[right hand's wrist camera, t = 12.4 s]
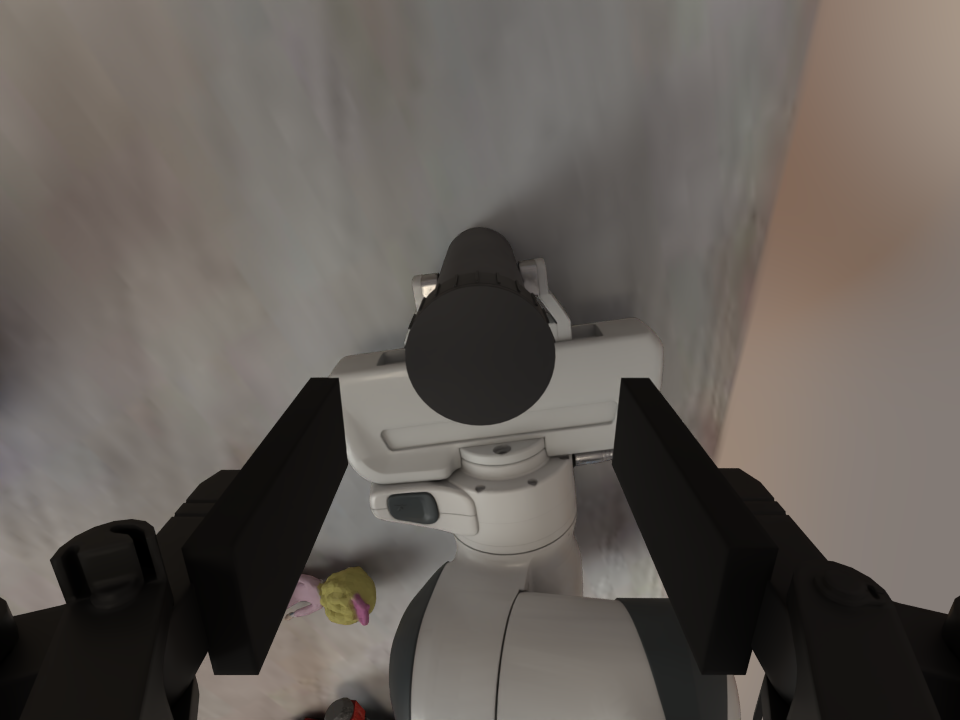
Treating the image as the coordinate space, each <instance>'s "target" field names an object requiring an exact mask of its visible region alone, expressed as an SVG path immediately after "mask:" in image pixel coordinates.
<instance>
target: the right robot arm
mask: <svg viewBox="0 0 960 720" xmlns="http://www.w3.org/2000/svg"><path fill="white" fill-rule="evenodd" d="M347 466H348V458H347V448H346V439H345V430H344V420H343V411H342V402H341V393H340V383H339V378H310V379H309V381H308V382H307V383H306V385H305V386H304V387H303V389H302V390H301V391H300V393H299V394H298V395H297V397H296V398H295V399H294V400H293V402H292V403H291V404H290V406H289V407H288V408H287V410H286V411H285V412H284V414H283V415H282V416H281V418H280V419H279V420H278V422H277V423H276V424H275V425H274V427H273V428H272V429H271V431H270V432H269V433H268V435H267V436H266V437H265V439H264V440H263V441H262V443H261V444H260V445H259V446H258V448H257V449H256V450H255V452H254V453H253V454H252V456H251V457H250V458H249V460H248V461H247V462H246V464H245V465H244V466H243V467H242V469H241V470H220V471H219V472H217V473H216V474H214V475H213V476H211V477H210V478H208V479H207V480H205V481H204V482H202V483H201V484H199V486H198V487H197V488H196V489H195V490H194V491H193V493H192V494H191V495H190V496H189V497H188V499H187V500H186V503H183V504H182V506H181V507H180V508H179V509H178V510H177V511H176V513H175V516H174V517H171V518H170V520H169V521H168V522H167V523H166V524H165V526H164V527H163V528H162V529H161V530H160V531H159V533H158V534H157V535H156V534H155V530H154V527H153V526H151V525H150V524H149V523H147V522H146V521H141V520H134V519H128V520H120V521H113V522H109V523H106V524H103V525H100V526H96V527H93V528H91V529H89V530H87V531H85V532H83V533H81V534H79V535H77V536H75V537H74V538H72V539H71V540H70V541H68V542H67V543H66V544H64V545H63V546H62V547H60V548H59V549H58V551H57V552H56V553H55V554H54V556H53V557H52V558H51V559H50V562H51V564H52V567H53V570H54V572H55V575H56V577H57V580H58V583H59V585H60V588H61V591H62V593H63V596H64V598H65V601H66V604H64V605H61V606H56V607H52V608H47V609H43V610H39V611H34V612H30V613H26V614H21V615H17V616H12V614H11V611H10V609H9V607H8V604H7V602H6V601H5V600H4V599H2V598H0V720H197V714H198V704H199V689H198V683H197V680H196V676H195V674H196V672H197V670H198V669H199V667H200V665H201V663H202V661H203V659H204V658H205V656H206V654H207V652H208V653H209V657H210V660H211V664H212V668H213V672H214V675H259V672H260V670H261V668H262V665H263V663H264V661H265V658H266V656H267V654H268V651H269V649H270V646H271V644H272V642H273V639H274V637H275V635H276V632H277V630H278V628H279V625H280V623H281V621H282V618H283V616H284V614H285V611H286V609H287V607H288V604H289V602H290V600H291V597H292V595H293V593H294V590H295V588H296V586H297V583H298V581H299V579H300V576H301V574H302V571H303V569H304V567H305V564H306V562H307V560H308V557H309V555H310V553H311V550H312V548H313V546H314V543H315V541H316V539H317V536H318V534H319V532H320V529H321V527H322V525H323V522H324V520H325V518H326V515H327V513H328V511H329V508H330V506H331V504H332V501H333V499H334V497H335V494H336V492H337V489H338V487H339V485H340V482H341V480H342V478H343V475H344V473H345V471H346V468H347ZM612 466H613V468H614V471H615V473H616V475H617V478H618V480H619V482H620V485H621V487H622V489H623V492H624V494H625V497H626V499H627V501H628V504H629V506H630V508H631V511H632V513H633V515H634V518H635V520H636V522H637V525H638V527H639V529H640V532H641V534H642V536H643V539H644V541H645V543H646V546H647V548H648V550H649V553H650V555H651V557H652V560H653V562H654V564H655V567H656V569H657V571H658V574H659V576H660V579H661V581H662V583H663V586H664V588H665V590H666V593H667V595H668V597H669V600H670V602H671V604H672V607H673V609H674V611H675V614H676V616H677V618H678V621H679V623H680V625H681V628H682V630H683V632H684V635H685V637H686V639H687V642H688V644H689V646H690V649H691V651H692V654H693V656H694V658H695V661H696V663H697V665H698V668H699V670H700V672H701V675H746V672H747V668H748V664H749V660H750V657H751V653H752V650H753V651H754V653H755V655H756V657H757V659H758V660H759V662H760V664H761V666H762V668H763V670H764V671H765V676H764V680H763V683H762V687H761V690H760V694H759V697H758V701H757V704H756V708H755V712H754V716H753V720H762V717H763V720H960V596H959V597H957V598H955V600H954V602H953V604H952V607H951V609H950V611H949V614H944V613H940V612H935V611H931V610H927V609H922V608H918V607H914V606H909V605H905V604H901V603H897V602H894V601H892V600H891V598H890V597H889V595H888V594H887V593H886V591H885V590H884V589H883V588H882V587H881V586H879V585H878V584H877V583H876V582H875V581H873V580H872V579H871V578H870V577H868V576H866V575H864V574H862V573H861V572H859V571H857V570H855V569H853V568H851V567H848V566H845V565H842V564H839V563H837V562H834V561H828V560H827V559H826V558H825V557H824V556H823V555H822V553H821V552H820V551H819V550H818V549H817V548H816V546H815V545H814V544H813V543H812V542H811V541H810V539H809V538H808V537H807V536H806V535H805V534H804V532H803V531H802V530H801V529H800V528H799V527H798V525H797V524H796V523H795V522H794V521H793V520H792V518H791V517H790V516H789V515H786V512H785V510H784V509H783V508H782V507H781V506H780V505H779V503H778V502H777V501H774V497H773V496H772V495H771V494H770V493H769V492H768V491H767V489H766V488H765V487H764V486H763V485H762V484H761V482H759V481H758V480H756V479H755V478H753V477H752V476H750V475H748V474H747V473H745V472H744V471H742V470H741V469H739V468H718V467H717V466H716V465H715V464H714V462H713V461H712V460H711V458H710V457H709V456H708V454H707V453H706V452H705V450H704V449H703V448H702V446H701V445H700V444H699V443H698V441H697V440H696V439H695V437H694V436H693V435H692V433H691V432H690V431H689V429H688V428H687V427H686V425H685V424H684V423H683V422H682V420H681V419H680V418H679V416H678V415H677V414H676V412H675V411H674V410H673V408H672V407H671V406H670V404H669V403H668V402H667V401H666V399H665V398H664V397H663V395H662V394H661V393H660V391H659V390H658V389H657V387H656V386H655V385H654V383H653V382H652V381H651V379H650V378H621V383H620V392H619V402H618V411H617V420H616V430H615V439H614V448H613V458H612Z"/></svg>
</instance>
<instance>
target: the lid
mask: <svg viewBox="0 0 960 720" xmlns="http://www.w3.org/2000/svg"><path fill="white" fill-rule="evenodd" d="M549 323H550V322H549V319H548V317H547V314H546V312H545V310H544V308H543V309H541V307H540V305H539V303H538V302H537V300H536V298H535V295H534V293H533V292H532V293H530V292H529V291H528V290H527V289H525V288H524V287H523V286H522V285H520V284H519V282H518V280H516V281H514V280H512V279H509V278H507V277H505V276H501V275H500V274H499V273H498V272H497V273H496V274H493V273H486V272H479V271H478V270H477V271H476V272H475V273H467V274H462V275H459V276H458V274H456V275H455V277H453V278H451V279H449V280H447V281H445V282H443V283H442V284H440V283H438V284H437V286H436V288H435V289H434V290H433V291H432V292H431V293H430V294H429V295H428V296H427V297H426V298H425V297H424V298H423V299H422V302H421V304H420V307H419V309H418V312H417V314H414V316H413V318H412V320H411V323H410V325H409V328H408V329H410V331H409V334H408V338H407V341H406V344H405V347H404V349H405V363H406V370H407V373H408V377H409V379H410V382H411V384H412V386H413V388H414V389H415V391H416V393H417V394H418V396H419V397H420V398H421V399H422V400H423V402H424V403H425V404H427V405H428V406H429V407H430V408H431V409H432V410H434V411H435V412H436V413H438V414H440V415H441V416H443V417H445V418H447V419H450V420H452V421H454V422H458V423H462V424H467V425H475V426H485V425H494V424H499V423H503V422H506V421H509V420H511V419H513V418H515V417H518V416H519V415H521V414H523V413H524V412H526V411H527V410H528V409H529V408H531V407H532V406H533V405H534V404H535V403H536V402H537V401H538V400H539V399H540V397H541V396H542V395H543V393H544V392H545V390H546V389H547V387H548V385H549V383H550V381H551V378H552V375H553V371H554V367H555V359H556V354H555V344H554V343H556V341H555V338H554V336H553V333H552V331H551V328H550V327H549V325H548V324H549Z"/></svg>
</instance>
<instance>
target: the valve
mask: <svg viewBox="0 0 960 720" xmlns="http://www.w3.org/2000/svg"><path fill="white" fill-rule="evenodd" d="M305 720H316V719H310V718H305ZM324 720H369V719H368V718H367V717H366V716H365V710H364V709H363V708H362V707H361V706H360V705H359V703H358V702H357V701H356V700H350V699H348V698H342V699H339V700H336V701H335V702H334V703H332V704H331V705H330V707H329V708H328V710H327V712H326V715H325V718H324Z"/></svg>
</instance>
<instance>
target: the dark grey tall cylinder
mask: <svg viewBox="0 0 960 720" xmlns="http://www.w3.org/2000/svg"><path fill="white" fill-rule="evenodd" d="M477 270H478V271H479V272H486V273H493V274H496V273H497V272H498V273H499V274H500V275H501V276H505V277H507V278H509V279H512V280H514V281H516V280H518V282H519V284H520V285H522V286H523V287H524V288H525V286H524V283H523V280H522V277H521V275H520V272H519V269H518V266H517V263H516V260H515V257H514V254H513V251H512V248H511V246H510V244H509V243H508V241H507V240H506V239H505V238H504V237H503V236H502V235H501V234H499V233H498V232H496V231H494V230H491V229H488V228H472V229H469V230H466V231H464V232H462V233H461V234H460V235H458V236H457V237H456V238H455V239H454V240H453V242H452V243H451V245H450V246H449V249H448V251H447V254H446V257H445V260H444V263H443V266H442V269H441V272H440V275H439V278H438V281H437V284H438V283H440V284H442V283H443V282H445V281H447V280H449V279H451V278H453V277H455V275H456V274H458V276H459V275H462V274H467V273H475V272H476V271H477ZM437 284H436V286H437ZM435 288H436V287H435Z"/></svg>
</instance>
